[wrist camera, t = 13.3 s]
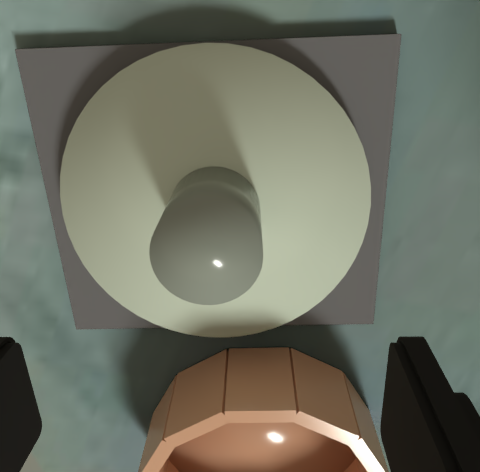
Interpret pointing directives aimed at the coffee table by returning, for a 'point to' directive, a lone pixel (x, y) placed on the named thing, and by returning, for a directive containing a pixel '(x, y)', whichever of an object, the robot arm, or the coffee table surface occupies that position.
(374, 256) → the mat
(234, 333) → the lid
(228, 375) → the bowl
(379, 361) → the coffee table surface
